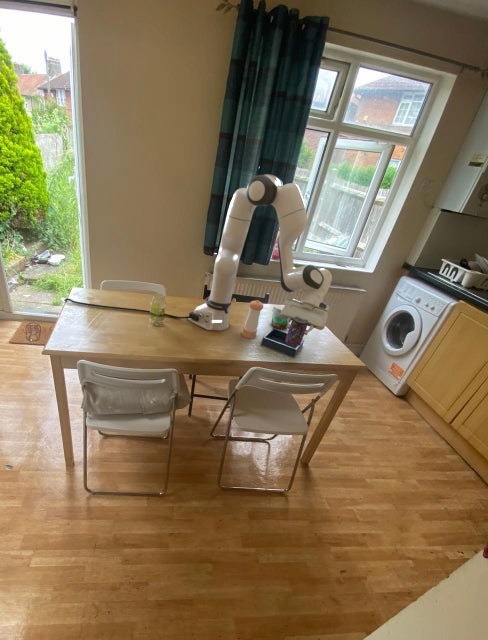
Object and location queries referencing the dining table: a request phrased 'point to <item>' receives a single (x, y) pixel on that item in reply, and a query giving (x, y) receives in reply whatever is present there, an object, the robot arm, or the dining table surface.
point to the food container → (278, 320)
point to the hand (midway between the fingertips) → (296, 331)
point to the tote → (280, 342)
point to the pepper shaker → (252, 319)
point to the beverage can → (296, 331)
